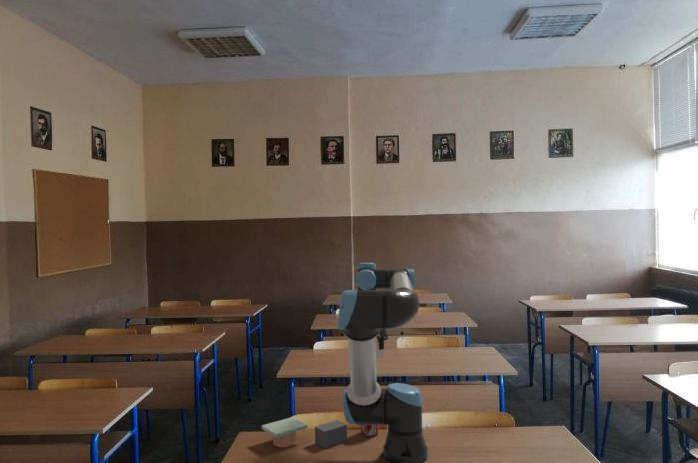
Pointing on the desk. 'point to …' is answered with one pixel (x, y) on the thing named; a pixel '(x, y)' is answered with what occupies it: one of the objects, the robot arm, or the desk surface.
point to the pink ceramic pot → (285, 440)
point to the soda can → (369, 429)
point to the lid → (284, 427)
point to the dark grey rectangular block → (330, 434)
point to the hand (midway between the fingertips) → (367, 355)
